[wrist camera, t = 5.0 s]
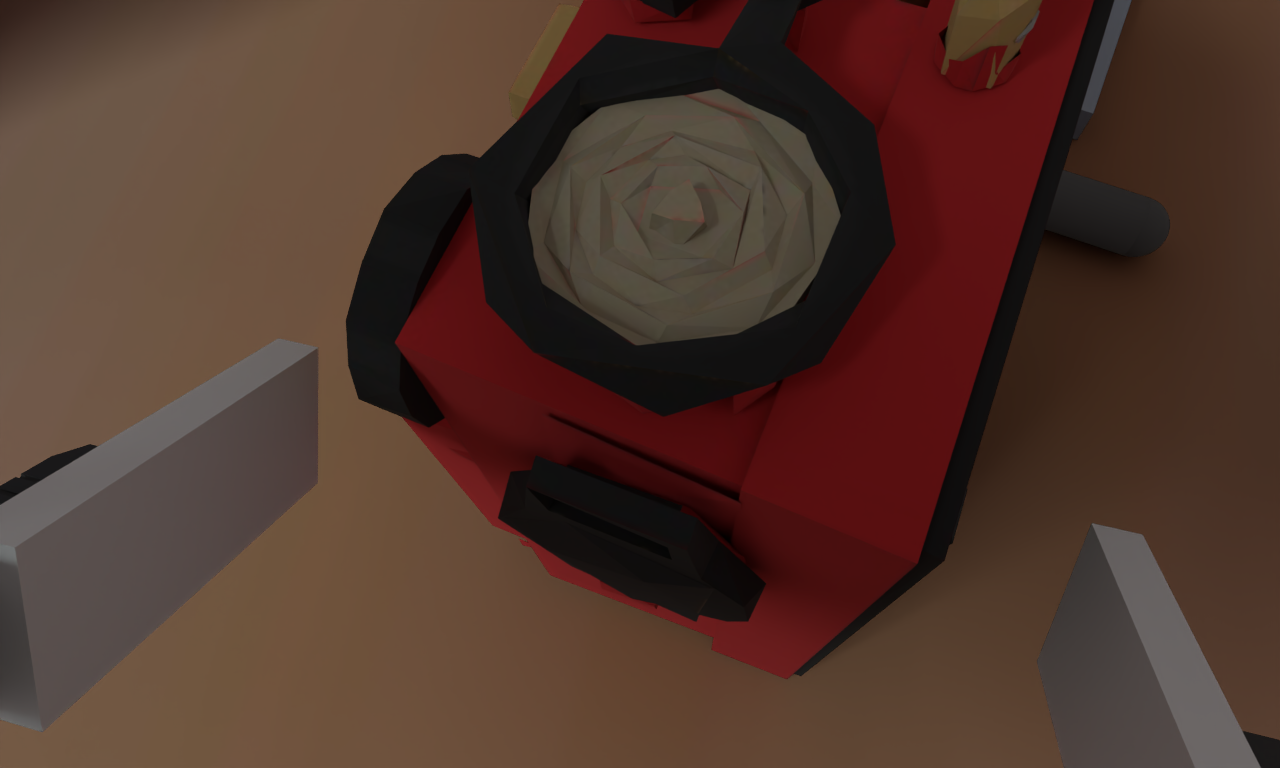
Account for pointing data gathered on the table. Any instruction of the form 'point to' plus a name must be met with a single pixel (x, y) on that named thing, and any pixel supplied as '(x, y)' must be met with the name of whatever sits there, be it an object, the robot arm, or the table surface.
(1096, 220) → the rod
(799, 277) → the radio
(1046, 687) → the robot arm
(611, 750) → the table surface
